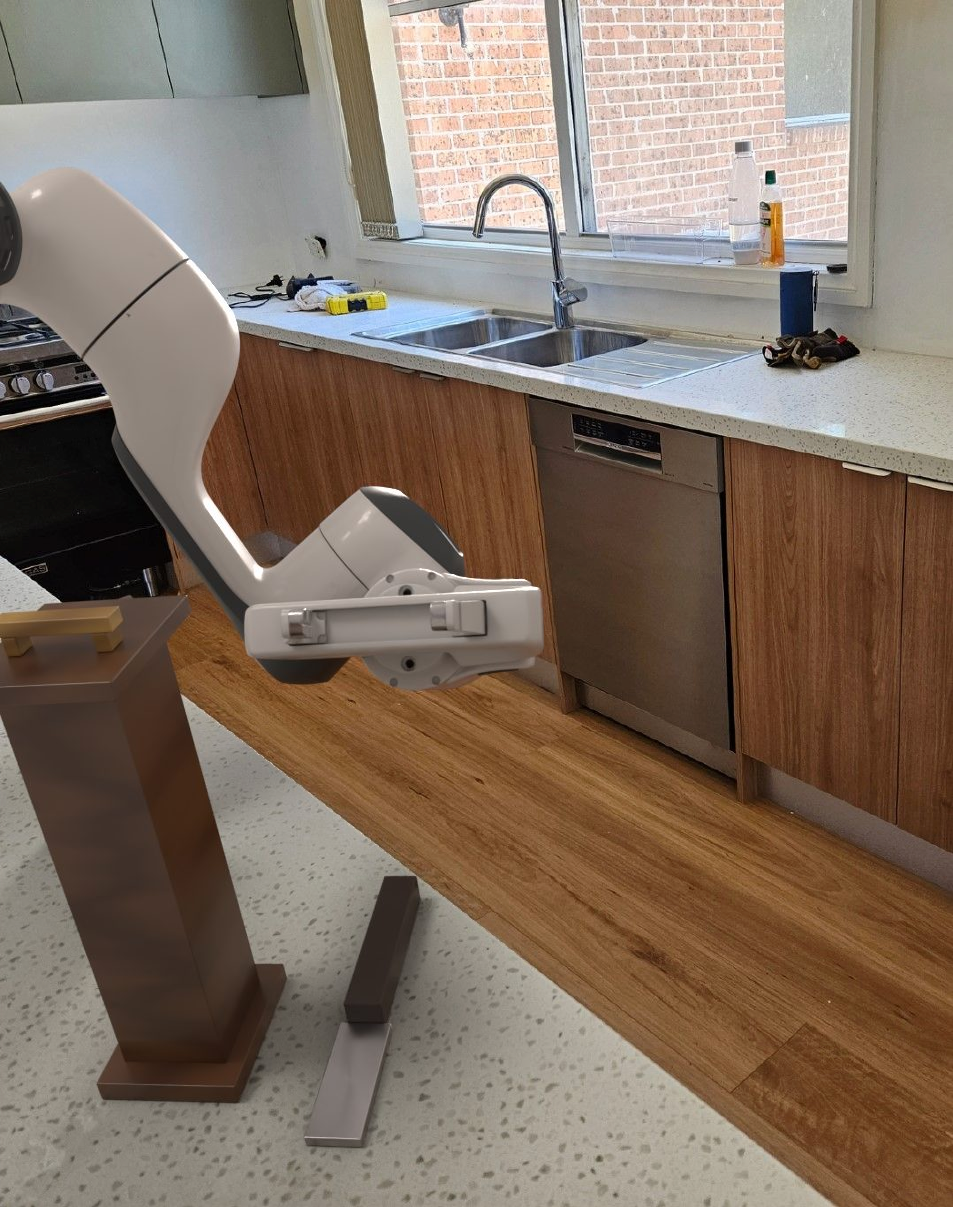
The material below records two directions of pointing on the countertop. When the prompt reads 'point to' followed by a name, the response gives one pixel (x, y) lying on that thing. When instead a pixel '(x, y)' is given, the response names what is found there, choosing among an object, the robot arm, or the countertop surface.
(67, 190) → the robot arm
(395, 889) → the knife
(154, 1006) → the brown wooden pedestal
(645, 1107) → the countertop surface
